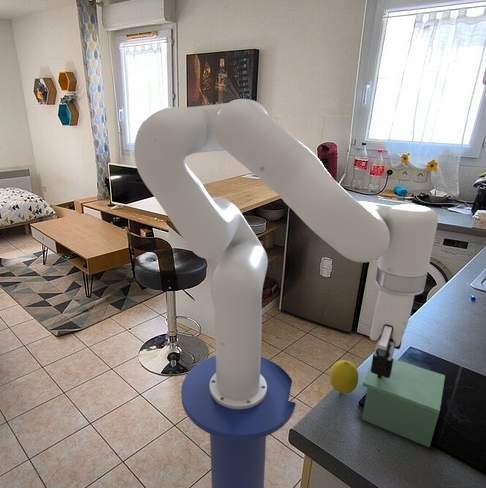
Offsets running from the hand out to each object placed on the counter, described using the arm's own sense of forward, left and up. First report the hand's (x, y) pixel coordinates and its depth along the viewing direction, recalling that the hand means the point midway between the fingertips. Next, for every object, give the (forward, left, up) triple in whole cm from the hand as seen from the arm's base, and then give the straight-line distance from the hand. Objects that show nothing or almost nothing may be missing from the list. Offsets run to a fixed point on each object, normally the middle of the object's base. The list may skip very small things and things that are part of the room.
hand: (385, 359), depth 69 cm
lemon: (-6, -4, -12) cm, 13 cm away
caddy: (+3, +2, -11) cm, 12 cm away
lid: (+3, +2, -4) cm, 5 cm away
